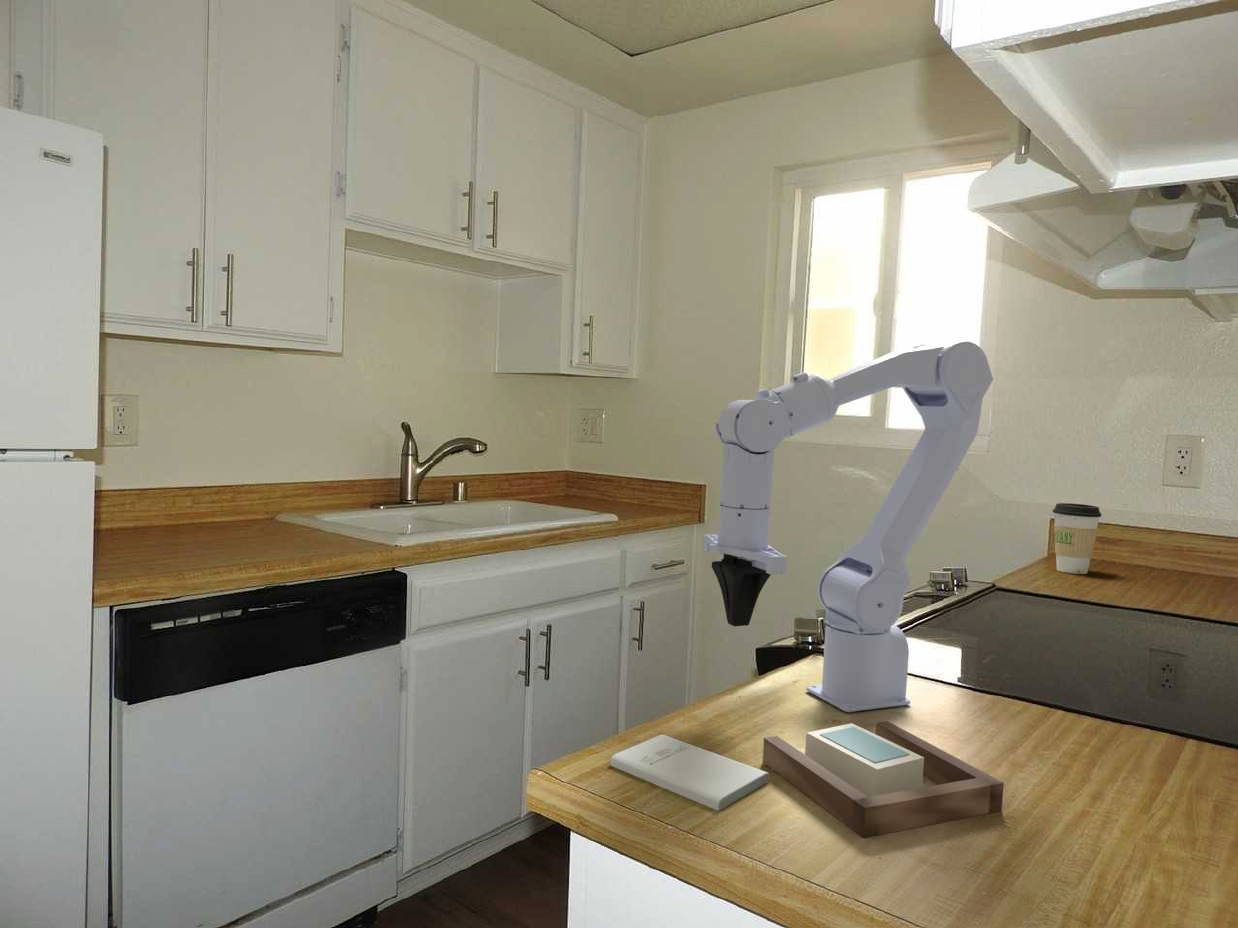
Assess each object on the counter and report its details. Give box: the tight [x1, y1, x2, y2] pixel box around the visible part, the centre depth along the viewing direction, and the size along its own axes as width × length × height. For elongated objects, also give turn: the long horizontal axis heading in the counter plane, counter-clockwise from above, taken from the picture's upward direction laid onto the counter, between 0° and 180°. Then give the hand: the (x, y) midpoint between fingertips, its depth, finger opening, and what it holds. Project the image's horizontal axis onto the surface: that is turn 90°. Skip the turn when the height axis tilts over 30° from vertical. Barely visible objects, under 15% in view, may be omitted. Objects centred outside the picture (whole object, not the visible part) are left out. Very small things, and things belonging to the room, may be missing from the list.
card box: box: [804, 722, 924, 797], centre depth 81 cm, size 6×9×4 cm, turn 30°
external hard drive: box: [609, 734, 770, 812], centre depth 80 cm, size 2×8×12 cm
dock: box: [762, 721, 1005, 839], centre depth 79 cm, size 15×15×2 cm
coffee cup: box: [1052, 502, 1102, 575], centre depth 195 cm, size 10×10×15 cm
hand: (738, 624), depth 98 cm, fingers closed
